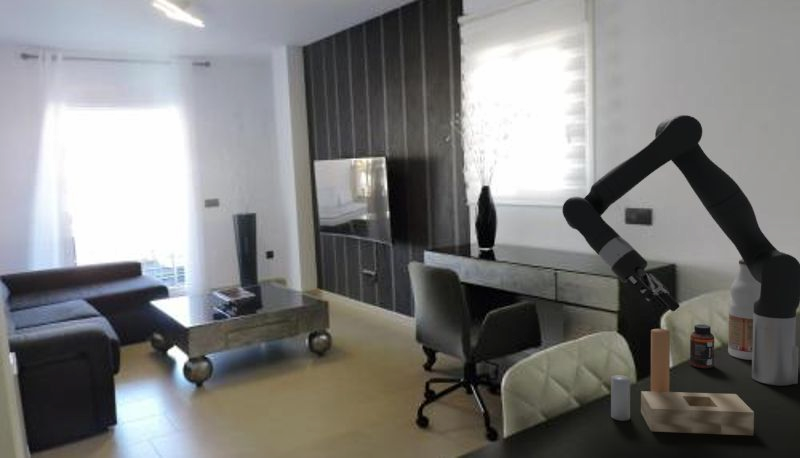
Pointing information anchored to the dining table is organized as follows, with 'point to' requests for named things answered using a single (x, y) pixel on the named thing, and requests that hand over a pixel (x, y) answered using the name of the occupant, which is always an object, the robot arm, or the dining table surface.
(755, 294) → the white plastic bottle
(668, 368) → the long dowel
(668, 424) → the wooden block with hole
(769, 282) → the robot arm
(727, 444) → the dining table surface
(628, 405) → the short dowel
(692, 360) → the supplement bottle
